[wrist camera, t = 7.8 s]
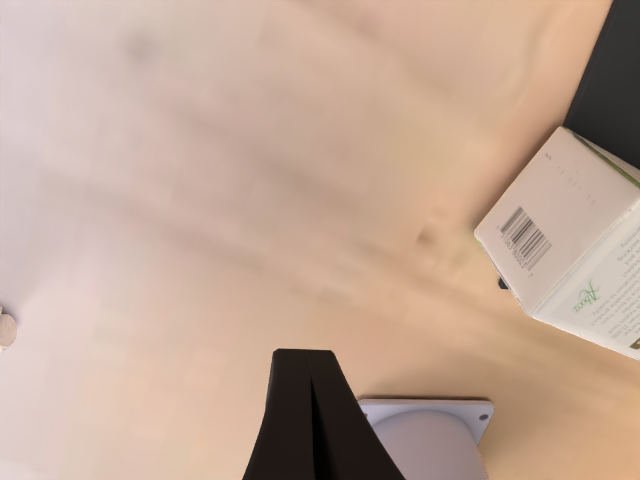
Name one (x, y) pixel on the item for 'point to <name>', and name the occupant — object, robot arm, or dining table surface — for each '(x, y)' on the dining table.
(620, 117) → the rubber mat
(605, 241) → the syrup box
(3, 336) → the white creature statuette
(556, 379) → the dining table surface
